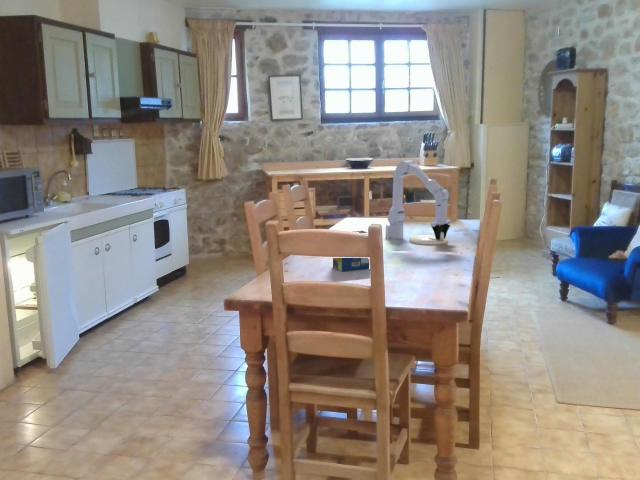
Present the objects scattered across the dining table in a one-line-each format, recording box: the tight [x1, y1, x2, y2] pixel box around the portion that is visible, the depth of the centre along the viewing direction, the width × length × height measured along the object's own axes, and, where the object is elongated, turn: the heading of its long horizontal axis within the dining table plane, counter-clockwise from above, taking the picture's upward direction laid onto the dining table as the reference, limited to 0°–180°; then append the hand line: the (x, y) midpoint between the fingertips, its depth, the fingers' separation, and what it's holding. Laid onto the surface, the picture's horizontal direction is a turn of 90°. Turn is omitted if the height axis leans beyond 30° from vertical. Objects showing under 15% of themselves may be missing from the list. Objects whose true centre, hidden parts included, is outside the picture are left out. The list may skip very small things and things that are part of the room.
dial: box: [408, 232, 449, 246], centre depth 321 cm, size 20×20×6 cm
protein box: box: [332, 230, 369, 272], centre depth 269 cm, size 10×15×16 cm
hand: (440, 238), depth 316 cm, fingers open, 4 cm apart
